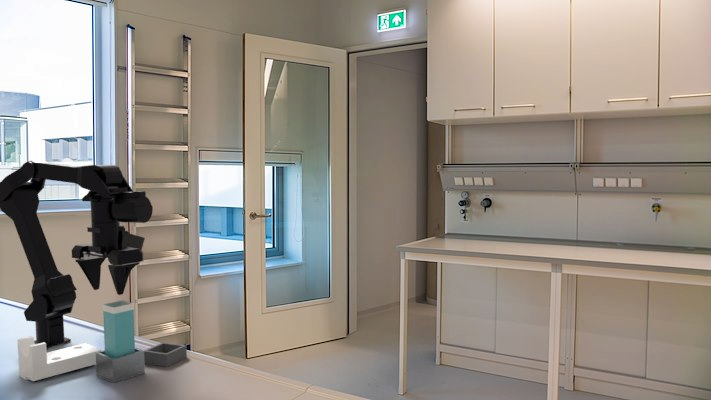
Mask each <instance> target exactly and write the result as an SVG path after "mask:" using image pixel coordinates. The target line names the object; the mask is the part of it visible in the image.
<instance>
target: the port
mask: <svg viewBox="0 0 711 400" xmlns="http://www.w3.org/2000/svg"><path fill="white" fill-rule="evenodd" d="M144 350H145V349H144ZM144 350H143V349H141V348H138V347H136V346H135V353H131V354H127V355H124V356H120V357H117V358H111V357H109V356H107V355H105V349H104V350H101V351H100V352H96V364H95V373H96V375H95V376H97V377H99V378H102V379H104V380H106V381H107V382H110V383H112V384H114V383H118V382H121V381H125V380H127V379H130V378H135V377H136V376H139V375H143V374H145V373H146V369H145V368H146V363H145V362H144Z"/></svg>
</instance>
